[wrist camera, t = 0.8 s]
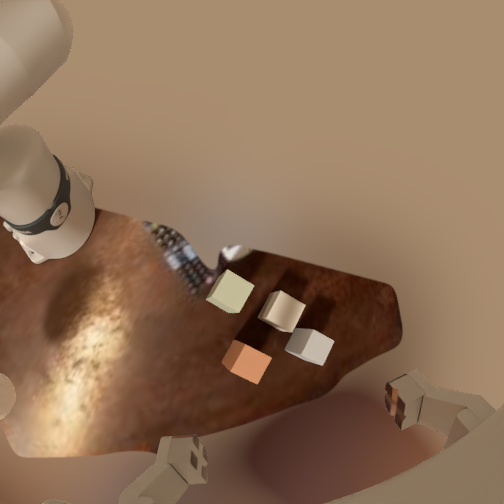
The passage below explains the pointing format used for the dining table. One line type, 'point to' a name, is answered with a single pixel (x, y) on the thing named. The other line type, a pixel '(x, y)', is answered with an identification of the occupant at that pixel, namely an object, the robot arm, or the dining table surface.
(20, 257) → the dining table surface
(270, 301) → the off-white cube
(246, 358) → the terracotta block
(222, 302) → the sage block
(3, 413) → the cup
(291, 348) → the light grey block
